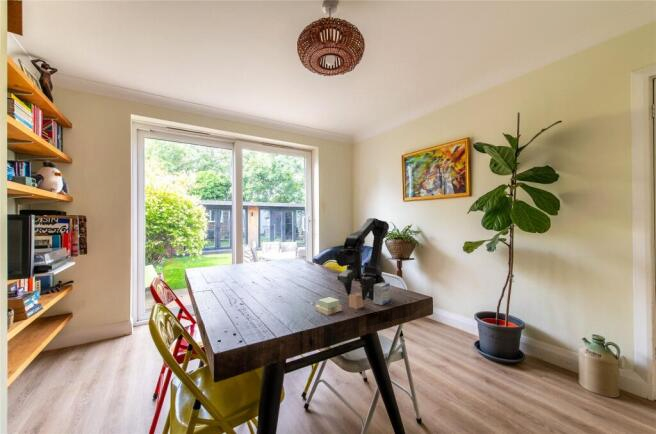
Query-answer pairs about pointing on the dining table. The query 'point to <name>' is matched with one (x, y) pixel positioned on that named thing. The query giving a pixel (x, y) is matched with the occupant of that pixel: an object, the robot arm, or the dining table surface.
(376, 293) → the medicine box
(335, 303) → the sage slab
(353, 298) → the terracotta block
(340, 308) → the maple slab
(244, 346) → the dining table surface
